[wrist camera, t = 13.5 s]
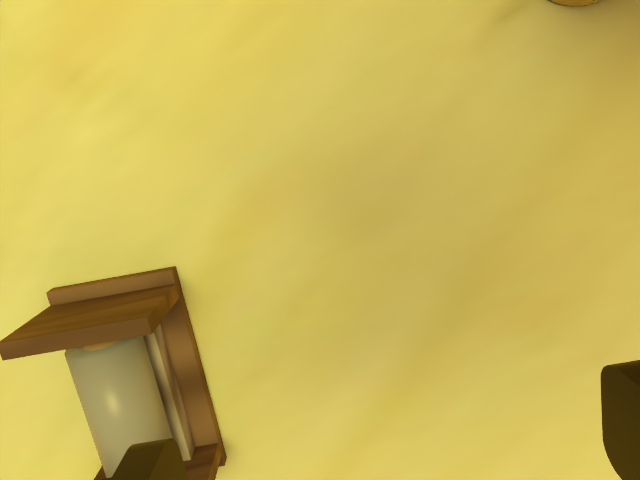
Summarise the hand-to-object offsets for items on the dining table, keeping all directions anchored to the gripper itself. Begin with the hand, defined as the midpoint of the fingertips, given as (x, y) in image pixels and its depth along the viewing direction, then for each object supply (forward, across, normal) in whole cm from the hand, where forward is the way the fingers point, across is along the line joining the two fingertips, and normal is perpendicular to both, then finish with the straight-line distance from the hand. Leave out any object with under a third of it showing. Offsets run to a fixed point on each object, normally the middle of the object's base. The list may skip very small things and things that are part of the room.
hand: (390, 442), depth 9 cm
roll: (+26, +18, +12) cm, 34 cm away
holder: (+28, +18, +12) cm, 35 cm away
